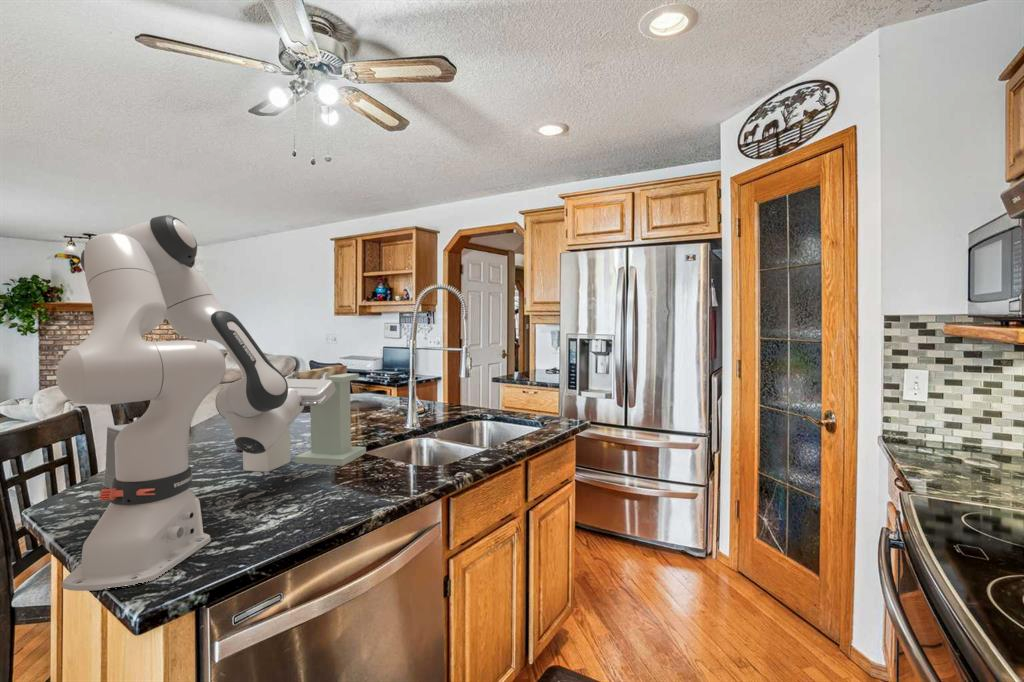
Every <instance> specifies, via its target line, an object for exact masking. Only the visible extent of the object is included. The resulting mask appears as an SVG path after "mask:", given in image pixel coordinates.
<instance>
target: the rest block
mask: <svg viewBox="0 0 1024 682" xmlns="http://www.w3.org/2000/svg"><path fill="white" fill-rule="evenodd" d="M291 458H292V457H291V424H290V425H289V426H288V427H287V429H286V431H285V433H284V434H283V435H282V436H281V438H280V439H279V440H278V441H277V442H276V443H275V444H274V445H273V446H272V447H271V448H270V449H269V450H267V451H266V452H263V453H260V454H251V453H247V452H244V451H242V468H243V469H242V471H247V472H249V471H250V472H260V473H261V472H265V473H269V472H271V471H273V470H276V469H278V468H280V467H282V466H284V465H287V464H289V463H290V462H291V461H292V459H291Z"/></svg>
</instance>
